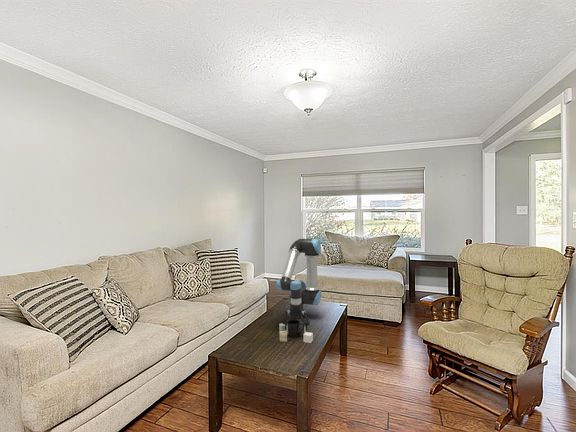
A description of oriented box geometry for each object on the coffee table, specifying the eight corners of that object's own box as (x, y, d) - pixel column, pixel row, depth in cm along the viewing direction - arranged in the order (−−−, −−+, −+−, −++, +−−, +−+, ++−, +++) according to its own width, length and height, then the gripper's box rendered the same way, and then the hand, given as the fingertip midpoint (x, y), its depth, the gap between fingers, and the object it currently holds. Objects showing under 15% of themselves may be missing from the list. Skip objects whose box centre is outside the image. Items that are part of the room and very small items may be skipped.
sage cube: (279, 330, 220) (279, 323, 219) (285, 329, 221) (285, 322, 221) (281, 332, 215) (281, 326, 215) (287, 332, 216) (287, 325, 216)
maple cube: (279, 338, 205) (279, 331, 205) (286, 338, 205) (286, 331, 205) (279, 341, 200) (279, 334, 200) (287, 341, 200) (287, 334, 200)
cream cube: (305, 339, 204) (305, 331, 204) (312, 340, 202) (312, 332, 202) (303, 342, 199) (303, 334, 199) (310, 343, 197) (310, 335, 197)
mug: (301, 339, 203) (301, 325, 203) (285, 336, 209) (285, 322, 209) (306, 334, 211) (306, 321, 210) (291, 332, 216) (291, 318, 216)
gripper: (278, 304, 207) (278, 335, 207) (312, 305, 204) (313, 337, 204) (279, 301, 215) (280, 331, 215) (313, 302, 212) (313, 333, 212)
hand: (296, 334), depth 210 cm, fingers closed on mug, 12 cm apart
